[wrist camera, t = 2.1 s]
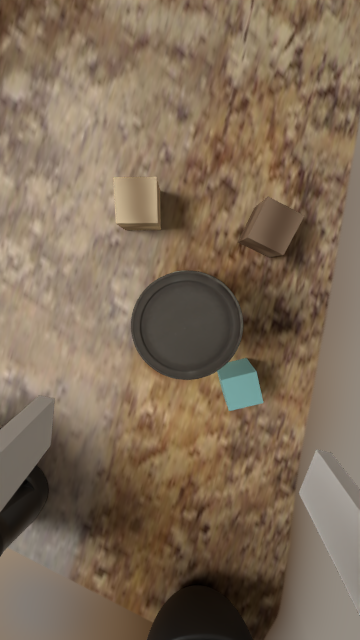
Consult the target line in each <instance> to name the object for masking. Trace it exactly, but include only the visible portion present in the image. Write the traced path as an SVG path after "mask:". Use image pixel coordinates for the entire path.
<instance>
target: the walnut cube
mask: <svg viewBox="0 0 360 640" xmlns="http://www.w3.org/2000/svg"><path fill="white" fill-rule="evenodd" d="M303 218H304V215H302V214H300V213H299V212H297V211H295V210H293V209H291V208H289V207H287V206H285V205H283V204H281V203H279V202H278V201H276V200H274V199H272V198H270V197H267V198H266V199H265V200H263V201H262V202H261V203H260V204H258V205H257V206H256V207H255V208H254V210H253V212H252V214H251V216H250V218H249V220H248V222H247V224H246V226H245V228H244V230H243V232H242V235H241V237H240V239H239V241H238V242H239V243H241V244H243V245H245V246H247V247H249V248H251V249H253V250H255V251H257V252H259V253H261V254H263V255H265V256H267V257H274V256H281V255H284V253H285V251H286V250H287V248H288V246H289V244H290V242H291V240H292V238H293V236H294V235H295V233H296V231H297V229H298V227H299V225H300V223H301V222H302V220H303Z"/></svg>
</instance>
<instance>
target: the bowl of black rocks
mask: <svg viewBox="0 0 360 640" xmlns="http://www.w3.org/2000/svg"><path fill="white" fill-rule="evenodd" d="M147 640H253V639H252V637H251V635H250V632H249V630H248V628H247V626H246V624H245V622H244V620H243V619H242V617H241V615H240V614H239V612H238V611H237V609H236V608H235V607H234V606H233V604H232V603H231V602H230V601H229V600H228V599H227V598H226V597H225V596H223V595H222V594H221V593H219V592H218V591H216V590H214V589H212V588H210V587H207V586H202V585H193V586H188V587H186V588H183V589H181V590H179V591H178V592H176V593H175V594H174V595H172V596H171V597H170V598H169V599H168V600H167V601H166V603H165V604H164V605H163V607H162V608H161V610H160V611H159V613H158V615H157V616H156V618H155V620H154V622H153V625H152V627H151V630H150V632H149V635H148V639H147Z"/></svg>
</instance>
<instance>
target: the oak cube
mask: <svg viewBox="0 0 360 640" xmlns="http://www.w3.org/2000/svg"><path fill="white" fill-rule="evenodd" d="M113 182H114V198H115V214H116V224H118V225H119V226H120V227H122V228H123V229H125V230H161V207H160V189H159V185H158V181H157V177H113Z"/></svg>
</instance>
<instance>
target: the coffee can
mask: <svg viewBox="0 0 360 640" xmlns="http://www.w3.org/2000/svg"><path fill="white" fill-rule="evenodd" d="M131 332H132V338H133V341H134V344H135V347H136V349H137V351H138V353H139V354H140V356H141V357H142V359H143V360H144V361H145V362H146V363H147V364H148V365H149V366H150V367H152V368H153V369H154V370H156V371H157V372H159V373H161V374H163V375H165V376H168V377H171V378H175V379H183V380H192V379H199V378H202V377H206V376H208V375H211V374H213V373H215V372H216V371H218V370H219V369H221V368H222V367H223V366H224V365H226V364H227V363H228V362H229V361H230V359H231V358H232V357H233V355H234V354H235V352H236V351H237V349H238V347H239V344H240V341H241V338H242V333H243V317H242V312H241V308H240V305H239V303H238V301H237V299H236V297H235V296H234V294H233V293H232V292H231V290H230V289H229V288H228V287H227V286H226V285H225V284H224V283H222V282H221V281H220V280H218V279H217V278H215V277H213V276H210V275H208V274H205V273H202V272H197V271H177V272H173V273H170V274H167V275H165V276H163V277H160V278H159V279H157V280H156V281H154V282H153V283H151V284H150V285H149V286H148V287H147V288H146V289H145V290H144V291H143V293H142V294H141V295H140V297H139V299H138V300H137V302H136V304H135V307H134V309H133V313H132V319H131Z"/></svg>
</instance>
